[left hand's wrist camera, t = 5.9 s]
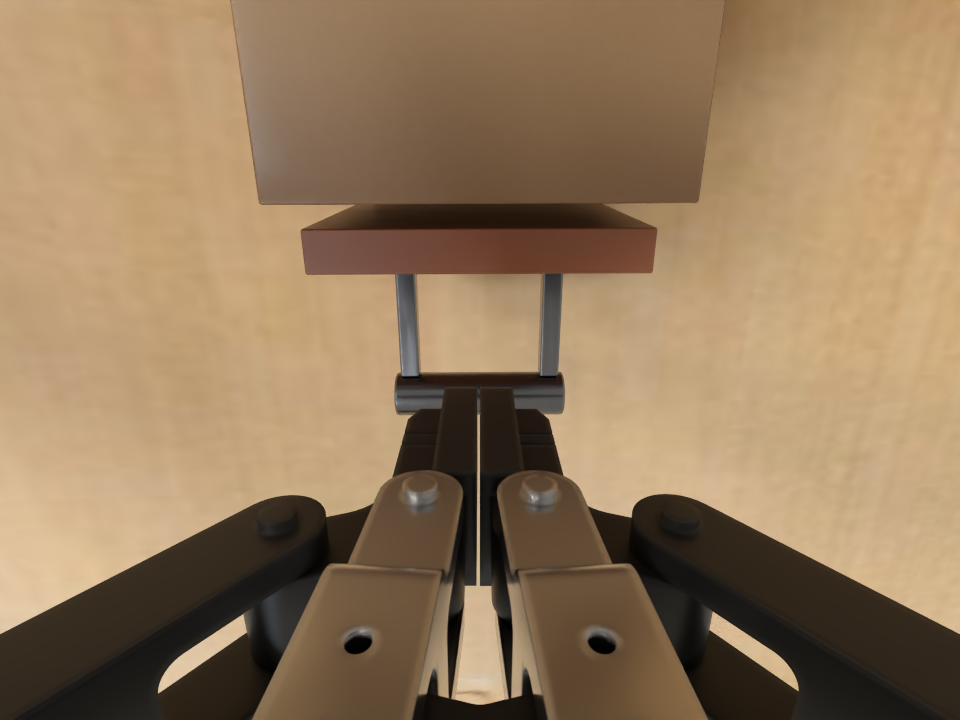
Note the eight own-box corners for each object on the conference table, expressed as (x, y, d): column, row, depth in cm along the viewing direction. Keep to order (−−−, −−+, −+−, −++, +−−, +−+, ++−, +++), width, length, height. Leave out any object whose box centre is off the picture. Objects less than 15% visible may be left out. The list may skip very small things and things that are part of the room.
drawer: (587, 356, 24) (634, 444, 17) (370, 358, 24) (325, 446, 17) (639, -379, 16) (771, -808, 9) (312, -378, 16) (176, -808, 9)
